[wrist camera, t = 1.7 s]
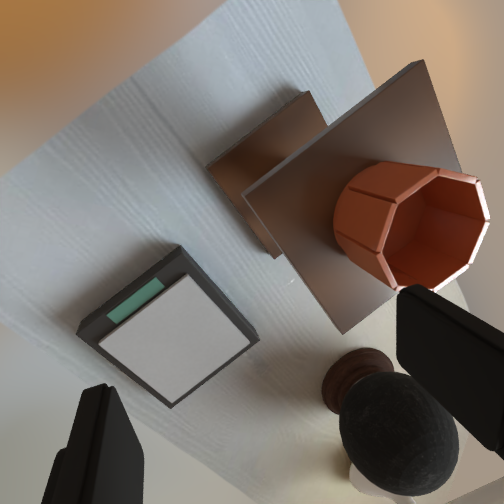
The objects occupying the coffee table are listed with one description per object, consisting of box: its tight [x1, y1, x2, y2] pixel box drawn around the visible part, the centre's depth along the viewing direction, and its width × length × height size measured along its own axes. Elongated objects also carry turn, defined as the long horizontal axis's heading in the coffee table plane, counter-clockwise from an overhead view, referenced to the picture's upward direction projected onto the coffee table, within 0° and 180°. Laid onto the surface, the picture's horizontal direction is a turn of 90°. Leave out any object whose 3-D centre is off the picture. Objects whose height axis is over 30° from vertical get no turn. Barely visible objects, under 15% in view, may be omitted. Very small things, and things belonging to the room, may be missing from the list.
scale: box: [76, 245, 260, 409], centre depth 35 cm, size 14×13×3 cm
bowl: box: [333, 161, 490, 292], centre depth 18 cm, size 6×6×4 cm
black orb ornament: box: [322, 348, 459, 497], centre depth 41 cm, size 13×13×15 cm
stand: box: [206, 59, 462, 335], centre depth 27 cm, size 12×12×16 cm
